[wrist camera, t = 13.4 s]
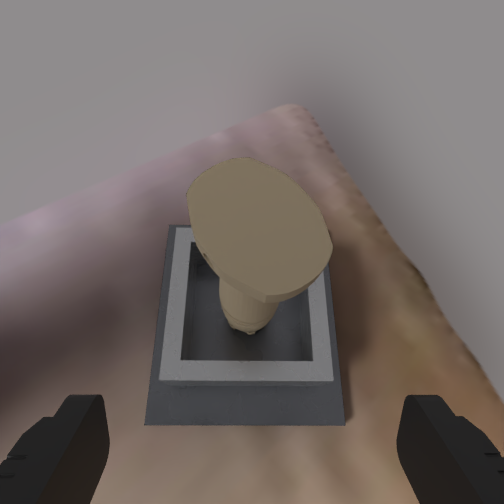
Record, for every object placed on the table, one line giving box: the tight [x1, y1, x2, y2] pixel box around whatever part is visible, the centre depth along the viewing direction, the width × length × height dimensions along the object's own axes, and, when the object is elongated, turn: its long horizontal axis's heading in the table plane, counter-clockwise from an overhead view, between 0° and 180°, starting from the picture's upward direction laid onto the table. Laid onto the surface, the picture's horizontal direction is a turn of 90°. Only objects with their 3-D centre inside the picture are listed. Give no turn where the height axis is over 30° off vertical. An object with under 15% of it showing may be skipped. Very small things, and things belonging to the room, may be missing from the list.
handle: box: [186, 158, 333, 335], centre depth 20 cm, size 5×6×15 cm
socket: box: [144, 225, 345, 426], centre depth 26 cm, size 14×16×5 cm
